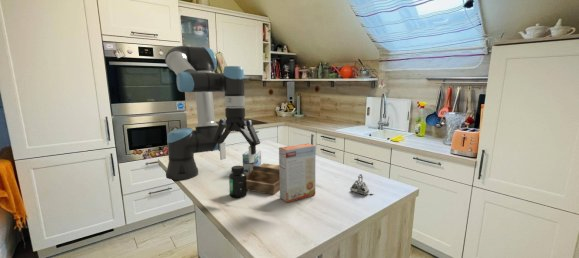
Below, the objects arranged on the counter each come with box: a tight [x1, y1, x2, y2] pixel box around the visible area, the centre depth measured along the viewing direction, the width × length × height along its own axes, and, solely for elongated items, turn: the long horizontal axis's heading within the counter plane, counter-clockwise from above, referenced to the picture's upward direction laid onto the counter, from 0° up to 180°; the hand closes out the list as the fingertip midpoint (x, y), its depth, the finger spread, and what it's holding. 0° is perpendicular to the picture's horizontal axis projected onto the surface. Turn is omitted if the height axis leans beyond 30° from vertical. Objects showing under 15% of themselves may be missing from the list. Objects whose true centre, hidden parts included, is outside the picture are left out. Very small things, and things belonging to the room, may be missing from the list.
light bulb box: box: [241, 149, 262, 174], centre depth 139 cm, size 11×7×11 cm, turn 168°
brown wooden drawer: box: [246, 172, 280, 195], centre depth 119 cm, size 18×12×4 cm, turn 66°
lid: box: [251, 163, 279, 175], centre depth 129 cm, size 18×12×3 cm, turn 66°
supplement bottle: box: [228, 165, 248, 199], centre depth 109 cm, size 7×7×12 cm
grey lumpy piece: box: [349, 173, 374, 196], centre depth 115 cm, size 9×9×8 cm
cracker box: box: [278, 143, 316, 203], centre depth 107 cm, size 14×6×21 cm, turn 122°
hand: (237, 160), depth 107 cm, fingers open, 13 cm apart
